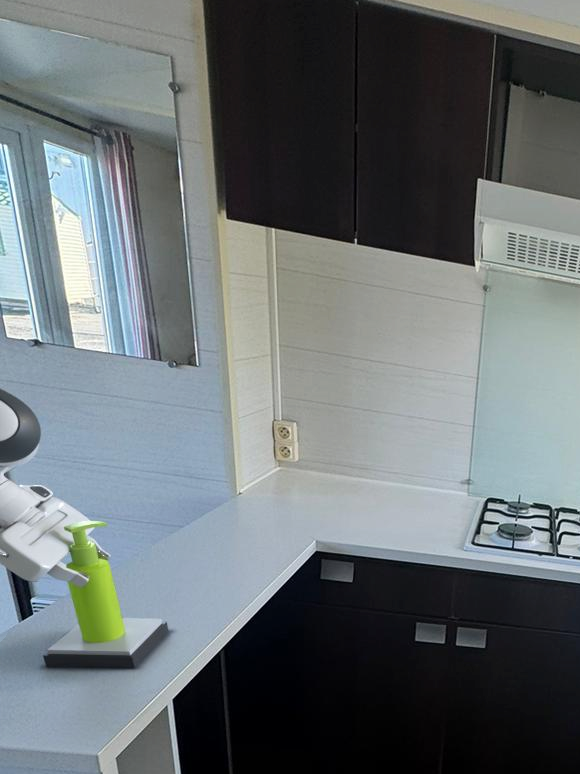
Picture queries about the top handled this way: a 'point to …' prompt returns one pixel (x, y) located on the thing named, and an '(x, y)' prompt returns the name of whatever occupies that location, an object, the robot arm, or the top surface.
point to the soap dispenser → (93, 589)
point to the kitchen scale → (108, 646)
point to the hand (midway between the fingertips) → (97, 571)
